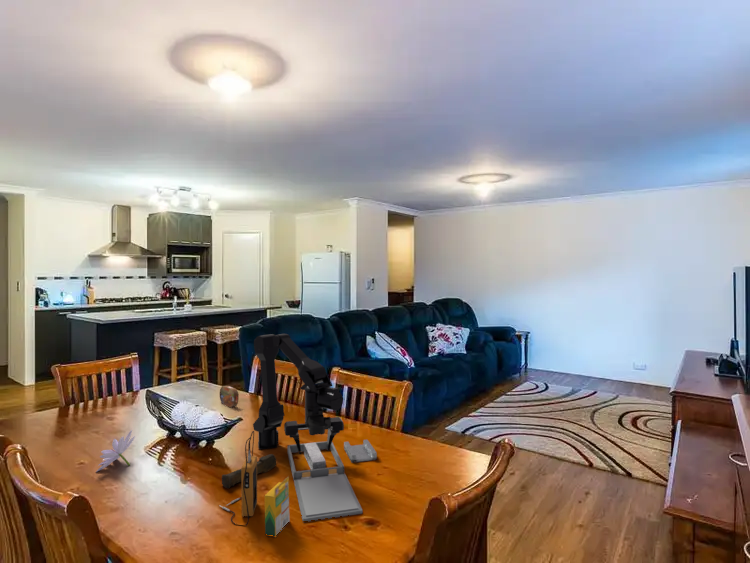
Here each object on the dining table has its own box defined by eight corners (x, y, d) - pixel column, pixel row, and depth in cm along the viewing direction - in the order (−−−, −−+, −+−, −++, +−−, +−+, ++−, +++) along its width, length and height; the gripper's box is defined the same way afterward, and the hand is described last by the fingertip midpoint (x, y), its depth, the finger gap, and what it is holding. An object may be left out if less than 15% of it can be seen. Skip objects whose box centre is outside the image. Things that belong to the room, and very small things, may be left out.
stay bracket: (351, 462, 150) (351, 455, 150) (344, 448, 161) (344, 442, 161) (376, 459, 152) (376, 452, 152) (367, 446, 164) (367, 439, 164)
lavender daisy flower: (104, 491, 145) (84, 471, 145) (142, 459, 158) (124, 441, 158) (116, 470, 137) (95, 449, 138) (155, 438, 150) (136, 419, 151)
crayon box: (279, 519, 116) (279, 474, 116) (289, 521, 115) (289, 475, 115) (264, 535, 109) (263, 487, 109) (275, 537, 108) (275, 489, 108)
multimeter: (223, 498, 127) (222, 426, 126) (259, 496, 128) (259, 425, 127) (208, 528, 112) (207, 447, 112) (249, 526, 113) (249, 445, 113)
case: (302, 522, 115) (302, 512, 115) (287, 452, 158) (287, 445, 158) (362, 513, 119) (362, 503, 119) (331, 447, 162) (331, 440, 162)
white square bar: (313, 475, 141) (312, 462, 141) (303, 455, 157) (303, 443, 156) (325, 473, 143) (325, 460, 143) (315, 453, 158) (315, 442, 158)
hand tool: (228, 491, 131) (228, 475, 131) (220, 486, 134) (220, 471, 134) (281, 469, 146) (281, 454, 146) (273, 465, 148) (273, 451, 148)
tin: (219, 402, 218) (218, 384, 217) (225, 400, 220) (225, 383, 219) (233, 409, 206) (233, 390, 206) (239, 407, 209) (239, 389, 208)
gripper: (286, 414, 139) (287, 465, 139) (347, 409, 144) (347, 458, 144) (284, 404, 150) (284, 451, 150) (340, 399, 155) (340, 445, 155)
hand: (314, 452), depth 150 cm, fingers open, 9 cm apart
